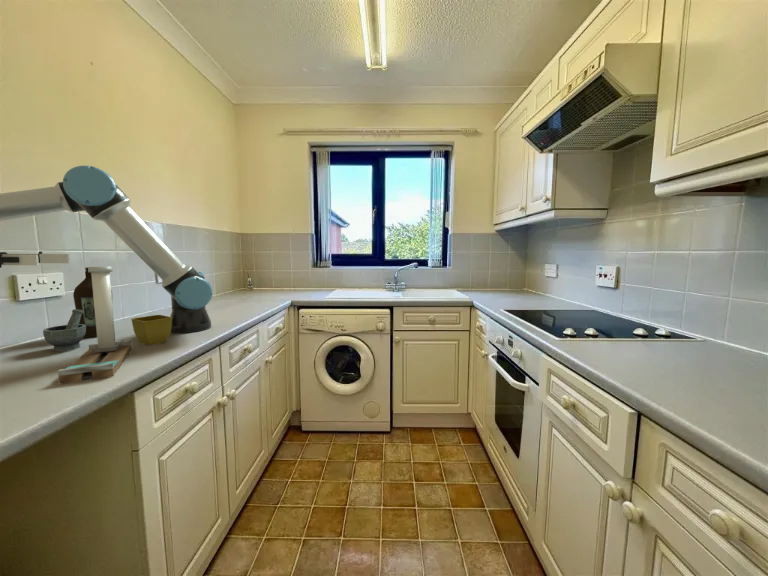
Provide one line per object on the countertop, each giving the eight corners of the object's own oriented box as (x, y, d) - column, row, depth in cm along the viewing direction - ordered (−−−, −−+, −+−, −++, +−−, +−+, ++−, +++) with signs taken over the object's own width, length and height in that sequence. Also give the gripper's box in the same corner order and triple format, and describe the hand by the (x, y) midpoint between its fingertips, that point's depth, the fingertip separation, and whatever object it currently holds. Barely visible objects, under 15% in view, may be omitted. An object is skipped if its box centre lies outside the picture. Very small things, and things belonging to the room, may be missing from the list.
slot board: (132, 350, 102) (131, 340, 101) (113, 376, 81) (112, 364, 80) (90, 354, 97) (89, 344, 96) (59, 383, 76) (57, 370, 76)
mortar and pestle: (68, 353, 98) (64, 314, 97) (36, 353, 97) (31, 314, 96) (98, 342, 109) (95, 308, 108) (69, 343, 109) (66, 308, 107)
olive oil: (76, 334, 120) (69, 267, 117) (113, 329, 127) (108, 266, 124) (78, 340, 112) (71, 268, 109) (117, 334, 120) (111, 267, 117)
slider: (120, 345, 99) (113, 266, 96) (116, 350, 94) (109, 267, 91) (98, 348, 96) (91, 266, 93) (93, 353, 92) (85, 267, 89)
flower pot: (161, 338, 115) (159, 314, 114) (174, 342, 111) (172, 316, 110) (132, 344, 108) (130, 318, 107) (145, 349, 103) (143, 321, 102)
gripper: (-11, 270, 94) (80, 270, 101) (-105, 276, 70) (22, 276, 77) (-13, 244, 93) (78, 246, 100) (-109, 242, 70) (19, 244, 77)
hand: (54, 259), depth 89 cm, fingers open, 13 cm apart
